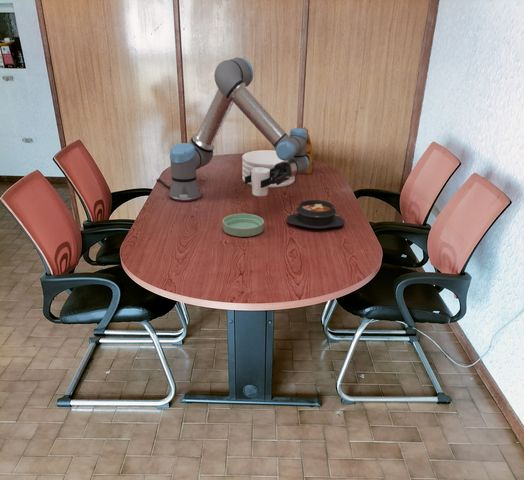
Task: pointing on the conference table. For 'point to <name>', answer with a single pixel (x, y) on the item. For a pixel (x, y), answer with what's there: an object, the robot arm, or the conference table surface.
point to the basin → (243, 225)
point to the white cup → (259, 181)
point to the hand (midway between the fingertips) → (253, 182)
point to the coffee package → (309, 154)
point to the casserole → (315, 215)
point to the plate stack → (262, 164)
